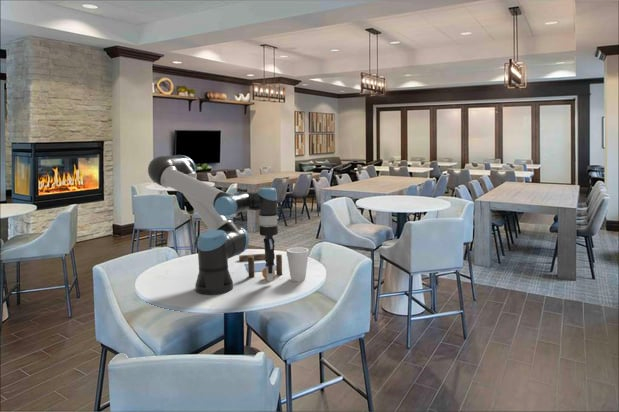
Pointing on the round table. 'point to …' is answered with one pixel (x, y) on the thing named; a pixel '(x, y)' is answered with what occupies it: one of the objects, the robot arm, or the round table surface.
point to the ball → (265, 273)
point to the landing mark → (259, 267)
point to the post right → (278, 264)
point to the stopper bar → (256, 256)
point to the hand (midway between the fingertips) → (270, 280)
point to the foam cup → (297, 263)
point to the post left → (251, 266)
